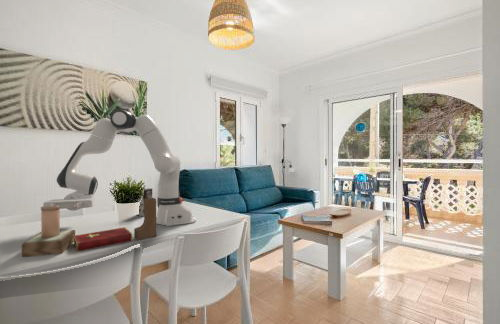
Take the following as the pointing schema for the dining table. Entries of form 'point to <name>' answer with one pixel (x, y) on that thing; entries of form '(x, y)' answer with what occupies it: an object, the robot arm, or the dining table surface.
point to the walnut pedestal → (48, 244)
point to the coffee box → (146, 195)
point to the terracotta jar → (50, 221)
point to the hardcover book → (102, 238)
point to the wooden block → (147, 221)
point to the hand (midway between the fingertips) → (63, 206)
